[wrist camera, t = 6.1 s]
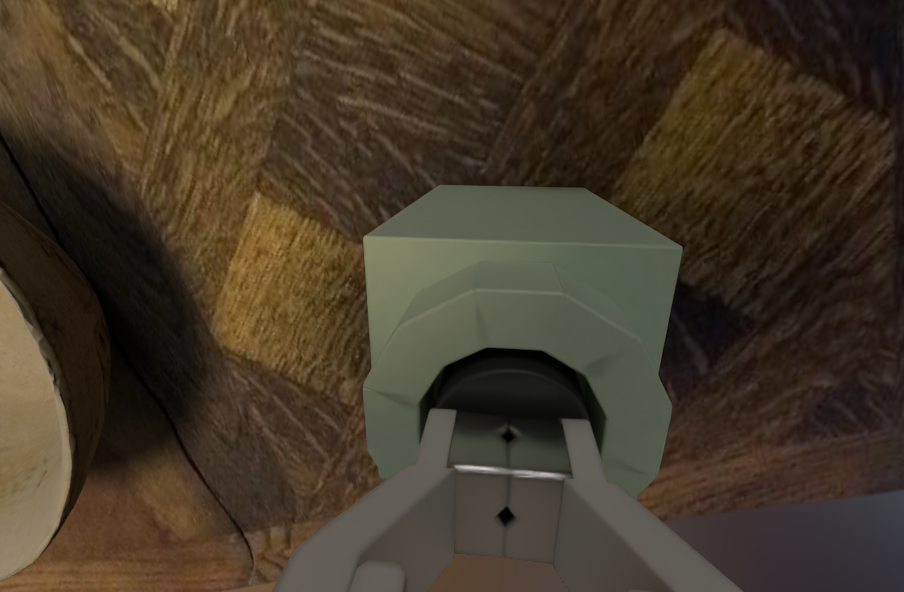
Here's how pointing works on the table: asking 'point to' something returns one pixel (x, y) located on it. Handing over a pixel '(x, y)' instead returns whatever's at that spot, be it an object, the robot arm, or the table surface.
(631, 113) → the table surface
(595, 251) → the green square bottle
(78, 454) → the bowl
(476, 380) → the cylinder
